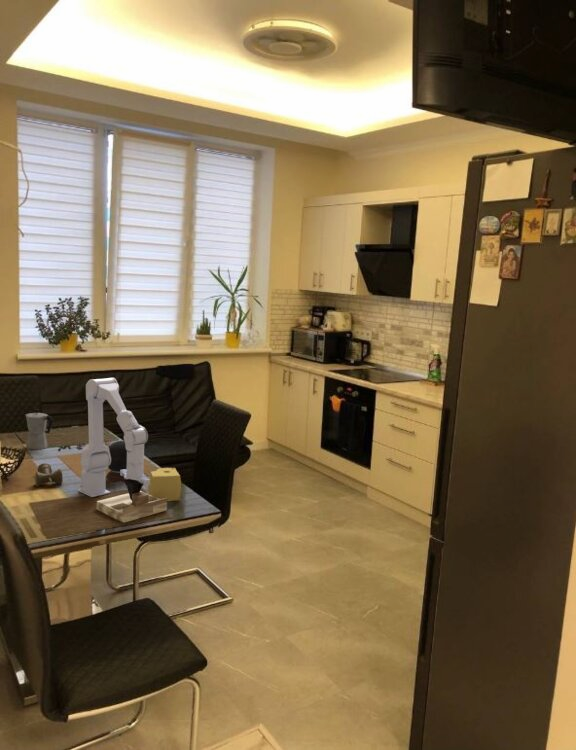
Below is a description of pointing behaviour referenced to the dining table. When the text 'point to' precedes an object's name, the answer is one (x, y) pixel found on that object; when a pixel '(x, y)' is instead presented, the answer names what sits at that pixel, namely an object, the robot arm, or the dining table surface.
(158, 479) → the cheese
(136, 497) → the walnut cube
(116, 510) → the divided wooden tray
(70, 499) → the dining table surface
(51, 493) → the dining table surface
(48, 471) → the kendama
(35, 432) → the coffeepot
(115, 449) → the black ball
